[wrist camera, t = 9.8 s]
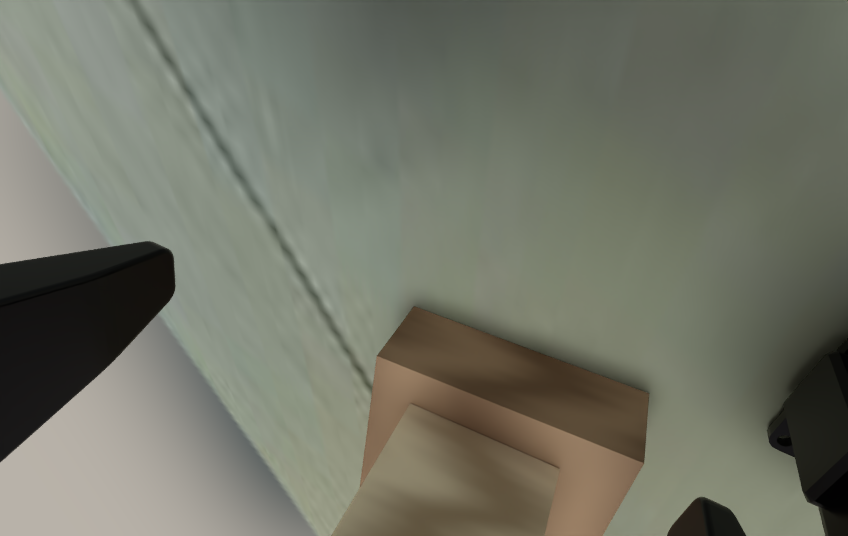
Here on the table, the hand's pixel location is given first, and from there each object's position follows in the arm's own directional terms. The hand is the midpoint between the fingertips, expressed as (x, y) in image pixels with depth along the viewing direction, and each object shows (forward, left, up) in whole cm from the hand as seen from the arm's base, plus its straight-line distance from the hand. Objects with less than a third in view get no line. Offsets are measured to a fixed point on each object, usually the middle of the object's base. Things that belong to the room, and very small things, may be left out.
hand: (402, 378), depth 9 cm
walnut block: (-2, +13, -12) cm, 18 cm away
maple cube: (-2, +13, -8) cm, 15 cm away
